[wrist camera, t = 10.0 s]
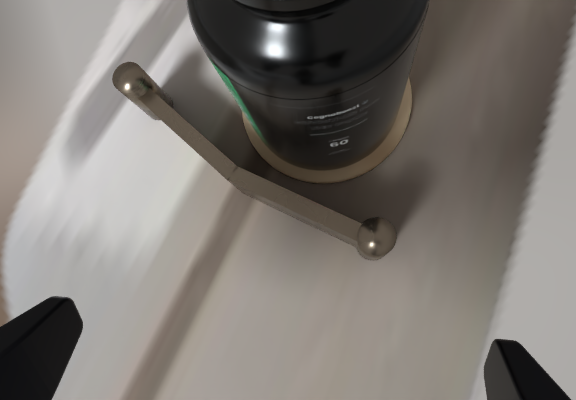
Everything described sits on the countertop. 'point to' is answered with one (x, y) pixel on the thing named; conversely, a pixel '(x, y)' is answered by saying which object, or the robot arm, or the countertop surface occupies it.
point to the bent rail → (158, 105)
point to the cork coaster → (345, 172)
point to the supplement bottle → (313, 70)
